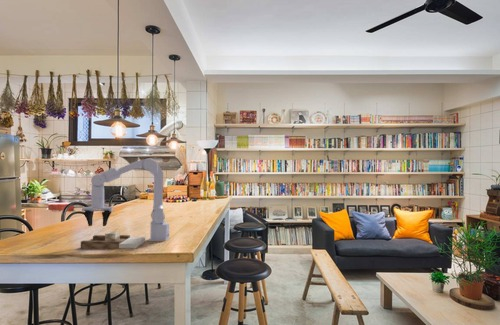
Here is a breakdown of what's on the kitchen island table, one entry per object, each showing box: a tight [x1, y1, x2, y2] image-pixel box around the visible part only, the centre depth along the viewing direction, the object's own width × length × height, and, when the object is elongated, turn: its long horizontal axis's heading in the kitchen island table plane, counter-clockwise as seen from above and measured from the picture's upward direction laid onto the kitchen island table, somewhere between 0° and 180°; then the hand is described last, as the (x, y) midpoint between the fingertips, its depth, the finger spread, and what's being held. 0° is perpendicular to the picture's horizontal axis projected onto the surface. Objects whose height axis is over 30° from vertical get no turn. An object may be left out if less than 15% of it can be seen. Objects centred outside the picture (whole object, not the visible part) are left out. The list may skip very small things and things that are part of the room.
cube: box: [104, 230, 121, 241], centre depth 141 cm, size 5×5×4 cm
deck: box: [80, 234, 146, 249], centre depth 141 cm, size 26×13×3 cm, turn 91°
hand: (97, 225), depth 141 cm, fingers open, 6 cm apart
